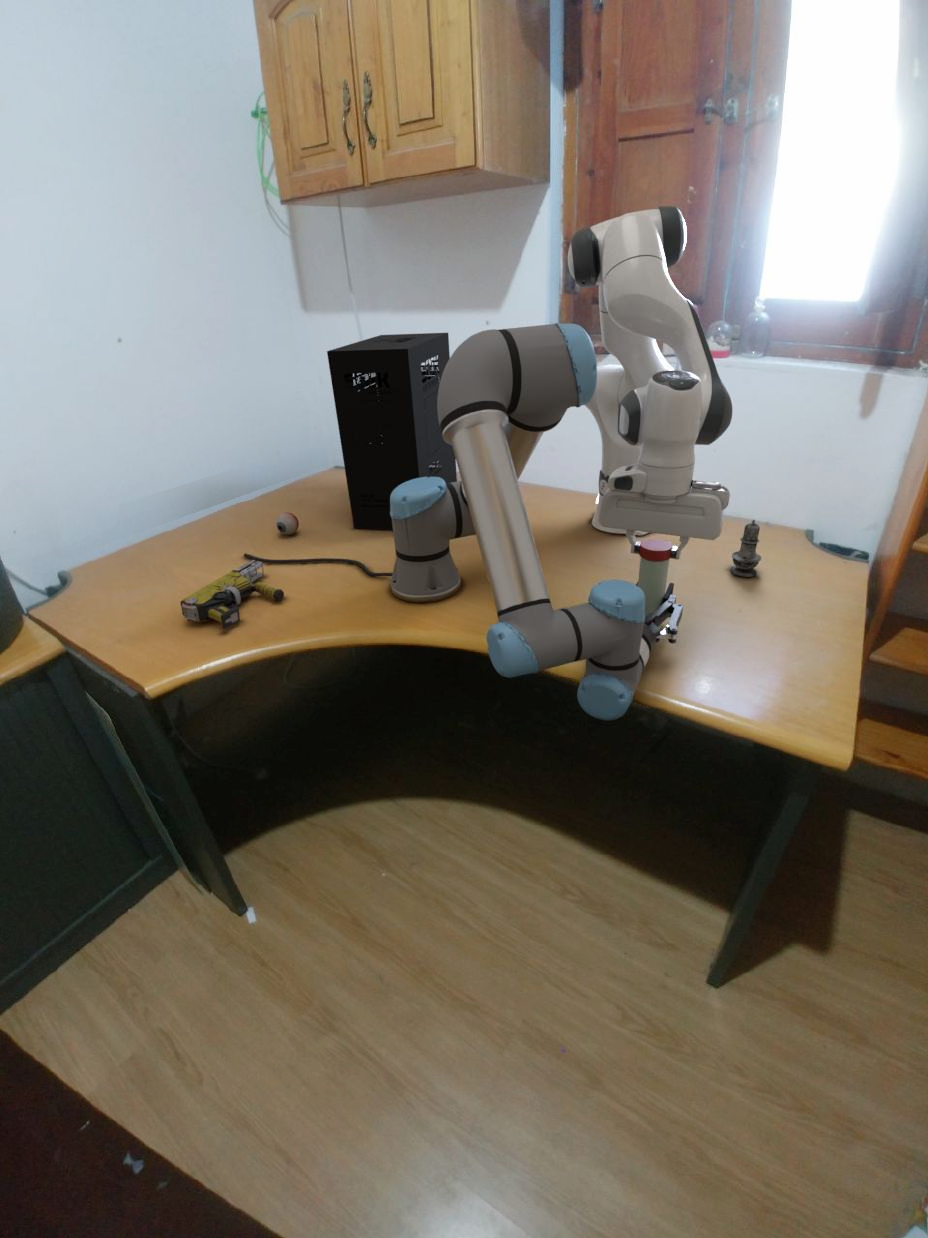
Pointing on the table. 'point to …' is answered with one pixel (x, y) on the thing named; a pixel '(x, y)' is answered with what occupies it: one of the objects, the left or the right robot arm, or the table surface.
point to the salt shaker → (747, 552)
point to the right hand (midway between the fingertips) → (655, 555)
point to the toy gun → (227, 596)
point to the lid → (655, 549)
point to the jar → (653, 583)
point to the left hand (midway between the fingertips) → (655, 587)
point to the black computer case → (389, 418)
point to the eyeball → (287, 523)
